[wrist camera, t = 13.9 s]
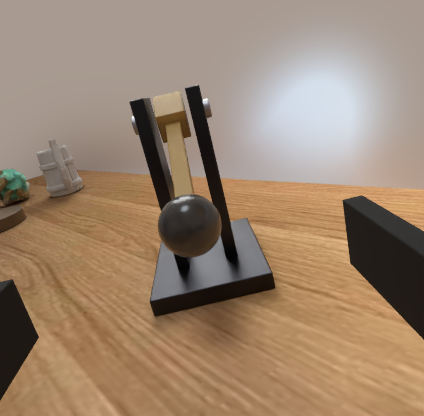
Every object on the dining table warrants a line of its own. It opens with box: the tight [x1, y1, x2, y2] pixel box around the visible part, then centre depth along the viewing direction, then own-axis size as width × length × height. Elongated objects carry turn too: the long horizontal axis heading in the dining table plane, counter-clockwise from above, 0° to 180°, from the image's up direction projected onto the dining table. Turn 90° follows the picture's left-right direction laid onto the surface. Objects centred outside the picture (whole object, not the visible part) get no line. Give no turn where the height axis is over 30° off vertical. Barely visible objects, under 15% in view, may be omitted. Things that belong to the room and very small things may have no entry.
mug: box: [37, 139, 83, 197], centre depth 79 cm, size 8×12×12 cm, turn 31°
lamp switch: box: [153, 91, 222, 258], centre depth 24 cm, size 14×4×4 cm, turn 4°
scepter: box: [0, 169, 30, 204], centre depth 92 cm, size 9×8×30 cm
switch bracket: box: [130, 85, 275, 316], centre depth 30 cm, size 12×9×15 cm
